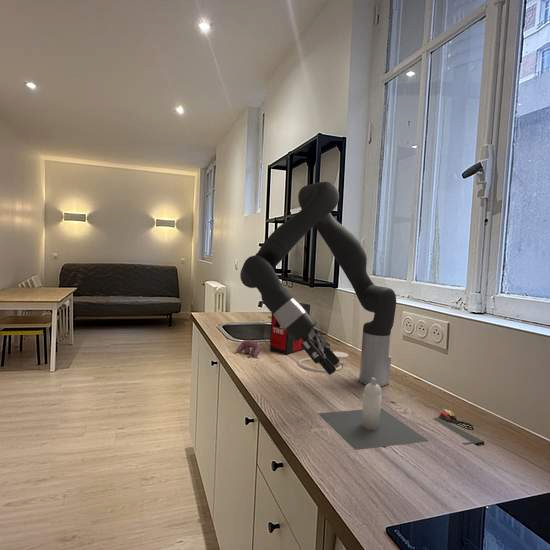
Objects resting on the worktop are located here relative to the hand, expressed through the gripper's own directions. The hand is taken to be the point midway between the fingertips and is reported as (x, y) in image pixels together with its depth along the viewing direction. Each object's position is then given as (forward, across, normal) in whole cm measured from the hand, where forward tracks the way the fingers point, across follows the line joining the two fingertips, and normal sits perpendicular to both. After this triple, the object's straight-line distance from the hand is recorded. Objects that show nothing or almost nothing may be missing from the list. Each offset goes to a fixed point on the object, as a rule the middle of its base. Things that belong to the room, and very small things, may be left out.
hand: (335, 367), depth 105 cm
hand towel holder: (+4, +51, +17) cm, 54 cm away
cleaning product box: (-8, +68, +29) cm, 75 cm away
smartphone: (+32, +6, -10) cm, 34 cm away
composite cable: (+33, +13, -12) cm, 38 cm away
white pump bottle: (+17, 0, +3) cm, 17 cm away
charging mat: (+17, 0, +3) cm, 17 cm away
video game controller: (-18, +53, +38) cm, 68 cm away
